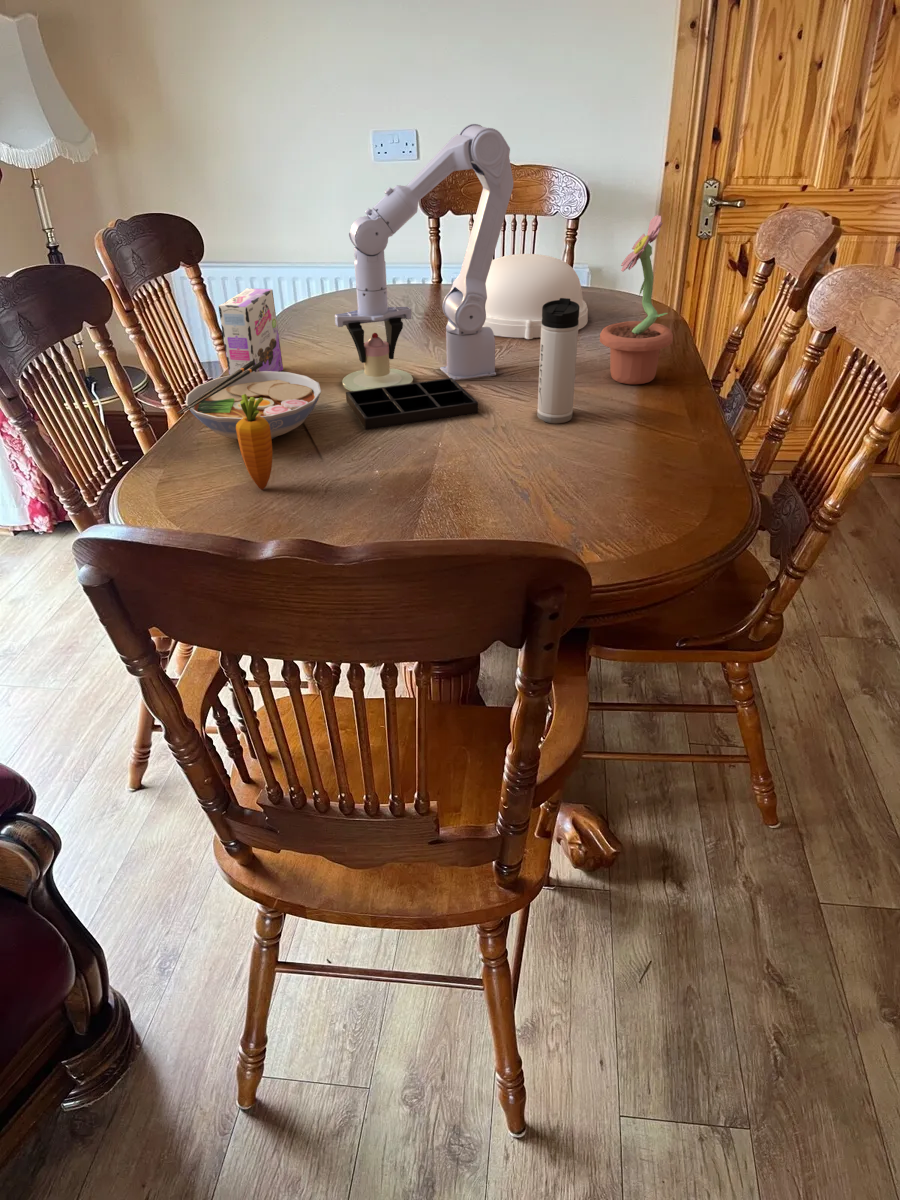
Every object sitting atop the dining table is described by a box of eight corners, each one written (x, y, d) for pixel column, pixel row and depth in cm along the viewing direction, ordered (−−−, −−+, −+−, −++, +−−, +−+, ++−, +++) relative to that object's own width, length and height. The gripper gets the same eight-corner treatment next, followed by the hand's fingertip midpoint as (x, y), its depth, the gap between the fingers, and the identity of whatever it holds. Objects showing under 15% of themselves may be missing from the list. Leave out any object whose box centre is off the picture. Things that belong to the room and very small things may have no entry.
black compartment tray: (346, 404, 158) (345, 392, 156) (452, 389, 163) (451, 377, 162) (365, 432, 146) (364, 419, 145) (478, 415, 152) (478, 402, 151)
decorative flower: (598, 364, 174) (612, 206, 158) (667, 367, 172) (687, 208, 155) (594, 388, 162) (608, 221, 146) (667, 392, 160) (690, 223, 143)
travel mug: (575, 412, 152) (583, 299, 141) (568, 425, 147) (575, 309, 136) (542, 408, 154) (547, 296, 143) (533, 421, 149) (538, 306, 138)
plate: (401, 368, 174) (401, 364, 174) (422, 390, 163) (421, 385, 163) (335, 376, 170) (335, 372, 170) (352, 399, 159) (351, 395, 159)
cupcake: (386, 366, 168) (384, 327, 164) (393, 375, 164) (391, 335, 160) (361, 370, 167) (358, 330, 163) (367, 378, 163) (365, 338, 159)
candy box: (258, 392, 163) (246, 306, 154) (230, 391, 164) (216, 305, 155) (284, 369, 175) (273, 287, 165) (257, 368, 176) (245, 286, 166)
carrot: (248, 483, 130) (232, 389, 122) (280, 481, 131) (266, 388, 122) (244, 497, 126) (227, 401, 118) (277, 495, 127) (263, 400, 118)
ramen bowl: (281, 472, 133) (274, 423, 129) (161, 453, 140) (150, 406, 136) (350, 415, 153) (346, 371, 148) (242, 401, 160) (235, 359, 155)
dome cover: (595, 338, 189) (601, 273, 181) (462, 339, 189) (462, 274, 182) (579, 301, 215) (583, 242, 207) (463, 302, 216) (462, 244, 208)
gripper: (338, 296, 151) (344, 370, 159) (415, 288, 155) (417, 361, 163) (329, 287, 157) (336, 359, 165) (404, 280, 161) (407, 350, 168)
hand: (376, 359), depth 164 cm, fingers closed on cupcake, 5 cm apart
